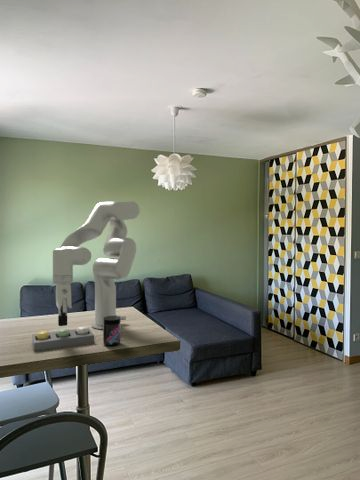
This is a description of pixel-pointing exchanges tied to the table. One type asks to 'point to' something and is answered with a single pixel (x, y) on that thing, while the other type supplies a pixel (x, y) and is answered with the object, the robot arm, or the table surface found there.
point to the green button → (62, 333)
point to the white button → (82, 330)
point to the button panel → (62, 340)
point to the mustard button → (42, 335)
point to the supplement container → (111, 330)
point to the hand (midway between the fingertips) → (62, 325)
